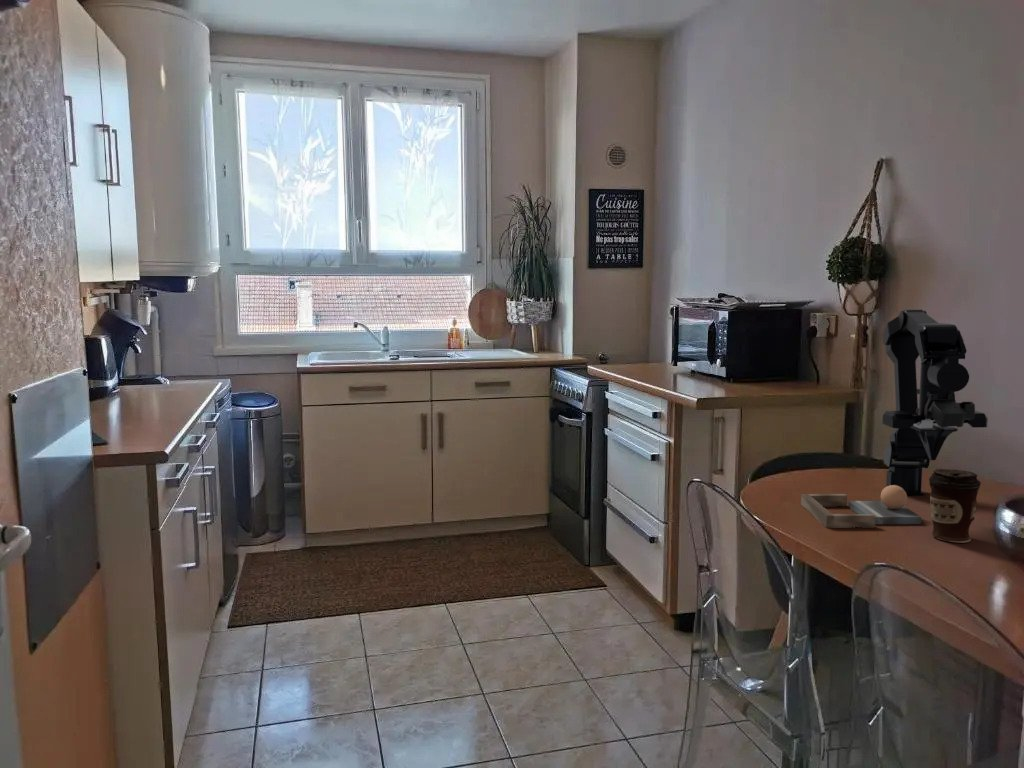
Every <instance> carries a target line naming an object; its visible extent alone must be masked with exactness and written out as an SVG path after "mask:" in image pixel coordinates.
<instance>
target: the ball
mask: <svg viewBox="0 0 1024 768" xmlns="http://www.w3.org/2000/svg"><path fill="white" fill-rule="evenodd" d="M880 501H882V503H883V504H884V505H885V506H886V507H888V508H890V509H899V508H901V507H903V506H905V505H907V501H908V495H907V494H906V492H905V491H904V489H902V488H901V487H899V486H896V485H890V486H887V487H885V486H884V488H883V489H882V490H881V493H880Z"/></svg>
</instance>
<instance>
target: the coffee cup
mask: <svg viewBox="0 0 1024 768" xmlns="http://www.w3.org/2000/svg"><path fill="white" fill-rule="evenodd" d="M928 481H929V483H928V484H929V487H930V491H931V492H930V494H929V498H930V499H929V506H930V519H931V521H932V527H933V528H932V529H933V530H932V533H931V534H932V537H933V538H936V539H938V540H939V541H941V540H942V541H945V542H949V543H958V544H959V543H961V544H965V543H969V542H971V540H972V539H971V536H970V534H969V532H970V531H969V530H970V527H971V525H972V523H973V521H975V515H976V511H977V506H978V504H977V496H978V494H979V492H980V491H979V490H980V487H981V483H982V482H981V481H980V480H979V479H978V474H977V473H975V472H972V471H968V470H962V469H946V468H937V469H934V470H933V472H932V474H931V475H930V476H929V478H928Z"/></svg>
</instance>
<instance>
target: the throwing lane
mask: <svg viewBox="0 0 1024 768" xmlns="http://www.w3.org/2000/svg"><path fill="white" fill-rule="evenodd" d="M800 497H801V498H800V505H802V506H801V507H802V508H803V509H805V508H806V509H807V510H806V509H805V510H806V511H807V512H808V511H809V512H810V513H811V514H812V515H811V514H810V513H809V512H808V513H809V514H810V515H811V516H813V517H814V518H815V519H816V520H817V521H818V523H820V524H821V525H822V526H824V527H825V528H827V529H829V528H830V529H833V528H834V529H837V528H838V529H839V528H841V529H842V528H843V529H850V528H851V529H854V528H855V527H859V528H858V529H861V528H860V527H862V529H864V528H866V529H867V528H868V529H869V528H870V529H871V528H872V529H873V528H876V525H921V524H922V516H920V515H918V513H917V512H914V511H913V510H911V509H909V508H908V507H907V506H905V505H904V506H903V507H901V508H899V509H890V508H888V507H886V506H885V505H884V504H883V503H882V501H881V500H848V495H847V494H846V493H815V494H814V493H801V495H800ZM823 506H824V507H823ZM837 506H842V507H848V509H849V508H850V510H851V511H852V512H853V511H854V512H853V513H832V512H831V511H830V510H828V509H827V508H825V507H829V508H830V507H833V508H834V507H835V508H836V507H837ZM856 513H857V514H856ZM852 527H853V528H852ZM855 529H856V528H855Z"/></svg>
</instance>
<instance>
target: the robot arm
mask: <svg viewBox="0 0 1024 768" xmlns="http://www.w3.org/2000/svg"><path fill="white" fill-rule="evenodd" d="M882 344H883V345H884V346H885V353H886V355H887V357H889V359H890V360H891V362H892V363H893V367H894V369H893V370H894V371H893V372H894V391H895V392H894V393H895V396H894V397H895V410H886V411H885V412H884V414H883V415H882V424H883V425H885V426H887V427H889V428H892V429H893V430H892V431H891V433H890V434H889V441H888V442H887V445H886V447H885V450H884V452H883V464H884V465H885V466H887V467H888V470H886V478H885V479H886V481H885V482H886V483H885V484H886V485H885V486H884V488H885V487H887V486H890V485H896V486H899V487H901V488H902V489H904V491H905V492H906V494H907V496H908V495H914V496H915V495H925V494H926V493H925V491H924V490H922V488H923V487H922V485H923V484H922V483H923V469H928V468H929V466H930V463H931V462H930V461H936V460H937V458H938V455H939V453H940V451H941V450H942V446H943V445H944V442H946V439H947V438H948V436H951V434H952V433H954V432H958V430H959V429H958V428H962V427H963V426H964V424H968V425H969V426H970V427H971V428H988V421H989V419H988V416H987V414H986V413H984V412H981V411H977V410H976V409H975V408H976V405H975V403H974V402H973V401H962V402H956V401H957V400H956V395H955V392H956V393H957V392H959V391H961V390H963V389H965V388H966V386H967V385H968V383H969V381H970V374H969V372H968V369H967V367H965V366H964V365H963V364H961V363H960V362H959V360H965V359H966V353H967V348H966V344H965V342H964V338H963V335H962V333H961V331H960V329H958V327H957V325H955V324H953V323H940V322H938V321H937V320H935V319H934V318H932V317H931V316H930V315H928V313H927V310H923V309H904V310H901V311H900V312H899V314H898V315H897V317H895V318H893V319H892V320H890V321H888V322H887V323H886V326H885V328H884V330H883V332H882ZM918 358H920V362H921V363H920V377H919V378H920V379H919V388H918V383H917V382H918V379H917V362H916V361H917V359H918ZM918 395H919V398H918ZM956 427H957V428H956Z"/></svg>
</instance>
